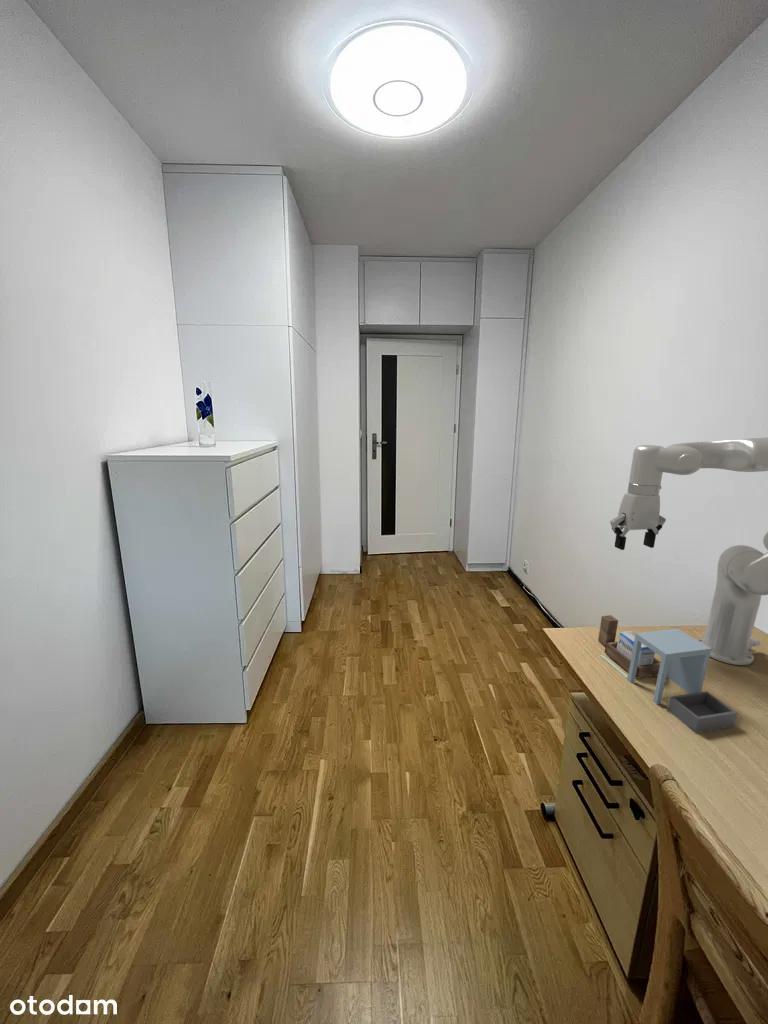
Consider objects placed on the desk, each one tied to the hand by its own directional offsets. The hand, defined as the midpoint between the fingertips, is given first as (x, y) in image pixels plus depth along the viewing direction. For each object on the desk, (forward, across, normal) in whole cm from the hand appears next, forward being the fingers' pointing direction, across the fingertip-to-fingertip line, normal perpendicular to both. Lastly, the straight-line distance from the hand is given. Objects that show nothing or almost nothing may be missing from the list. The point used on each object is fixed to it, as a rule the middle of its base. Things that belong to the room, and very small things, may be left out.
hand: (633, 547), depth 118 cm
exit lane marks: (+28, +8, +14) cm, 33 cm away
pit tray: (+28, +8, +34) cm, 45 cm away
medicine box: (+29, +9, +15) cm, 34 cm away
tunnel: (+28, +8, +24) cm, 38 cm away
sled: (+28, +8, +11) cm, 31 cm away
